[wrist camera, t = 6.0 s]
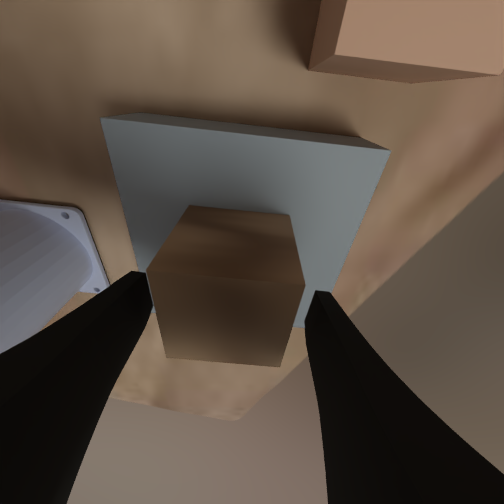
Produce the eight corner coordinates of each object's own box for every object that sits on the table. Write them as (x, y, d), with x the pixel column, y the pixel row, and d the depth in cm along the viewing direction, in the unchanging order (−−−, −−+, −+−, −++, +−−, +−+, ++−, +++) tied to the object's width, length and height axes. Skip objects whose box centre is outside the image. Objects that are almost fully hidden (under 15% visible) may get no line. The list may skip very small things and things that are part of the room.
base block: (169, 275, 19) (149, 312, 16) (143, 111, 12) (99, 117, 9) (307, 289, 19) (316, 329, 16) (358, 136, 12) (391, 150, 9)
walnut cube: (194, 280, 14) (166, 357, 10) (188, 205, 11) (145, 270, 7) (274, 287, 14) (279, 367, 10) (289, 215, 11) (305, 285, 7)
